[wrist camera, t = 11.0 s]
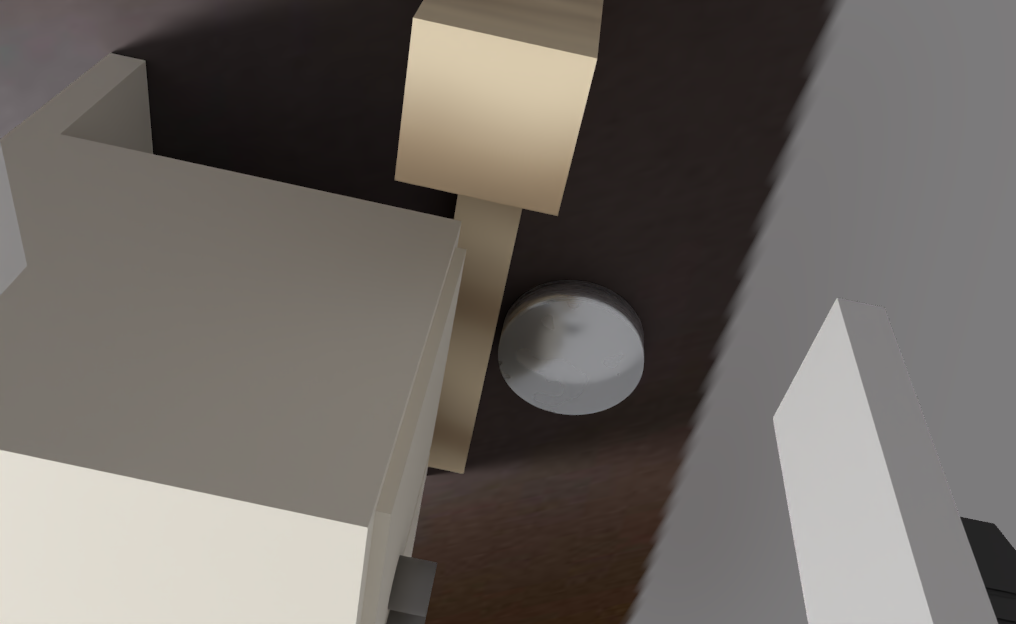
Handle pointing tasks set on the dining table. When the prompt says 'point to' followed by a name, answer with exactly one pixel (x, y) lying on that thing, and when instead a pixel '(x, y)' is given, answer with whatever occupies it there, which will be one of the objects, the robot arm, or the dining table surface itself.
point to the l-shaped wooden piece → (491, 154)
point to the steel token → (571, 347)
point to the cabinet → (210, 383)
